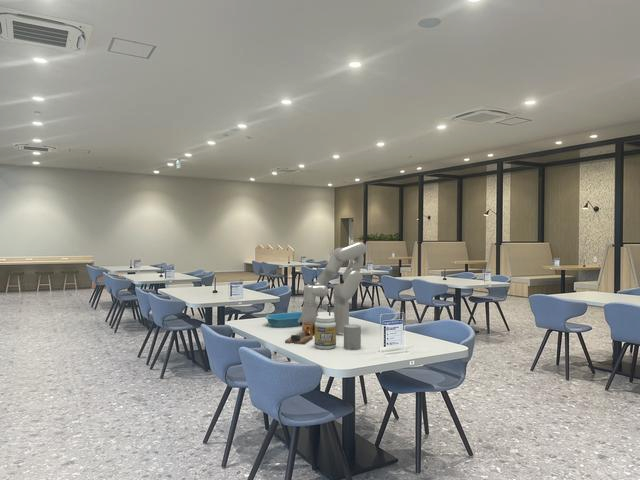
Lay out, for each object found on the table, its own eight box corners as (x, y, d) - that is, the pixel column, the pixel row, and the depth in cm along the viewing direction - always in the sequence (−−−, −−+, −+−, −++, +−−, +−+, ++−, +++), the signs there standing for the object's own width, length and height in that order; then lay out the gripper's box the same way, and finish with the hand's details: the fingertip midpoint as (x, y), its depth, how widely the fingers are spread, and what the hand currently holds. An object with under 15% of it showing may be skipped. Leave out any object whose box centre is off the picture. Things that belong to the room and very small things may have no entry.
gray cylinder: (355, 350, 257) (355, 328, 257) (340, 348, 262) (340, 326, 262) (363, 347, 266) (363, 325, 265) (348, 345, 271) (348, 323, 270)
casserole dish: (270, 329, 316) (270, 319, 316) (261, 324, 336) (261, 314, 336) (321, 325, 331) (321, 315, 331) (309, 320, 352) (309, 310, 351)
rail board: (312, 338, 288) (312, 331, 288) (304, 344, 273) (304, 336, 272) (293, 337, 291) (293, 330, 291) (285, 343, 276) (285, 335, 276)
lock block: (316, 333, 302) (316, 322, 302) (312, 336, 294) (312, 325, 294) (306, 333, 304) (306, 322, 304) (302, 336, 296) (302, 324, 296)
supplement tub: (316, 350, 259) (316, 319, 259) (312, 345, 271) (312, 315, 271) (338, 349, 261) (338, 318, 261) (333, 344, 273) (333, 314, 273)
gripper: (324, 304, 300) (324, 332, 300) (298, 303, 305) (298, 331, 305) (321, 306, 293) (321, 335, 293) (294, 305, 298) (294, 333, 298)
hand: (309, 332), depth 299 cm, fingers closed on lock block, 6 cm apart
